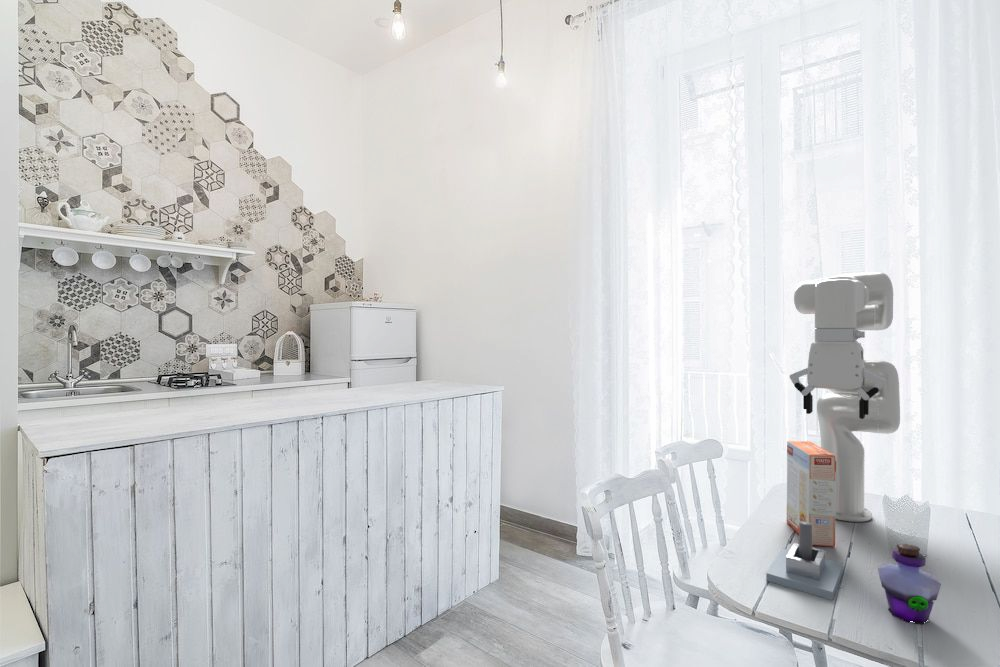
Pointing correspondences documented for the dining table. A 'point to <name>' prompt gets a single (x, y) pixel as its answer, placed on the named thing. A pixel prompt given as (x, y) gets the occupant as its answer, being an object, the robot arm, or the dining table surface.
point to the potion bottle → (909, 585)
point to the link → (805, 563)
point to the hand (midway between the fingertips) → (835, 415)
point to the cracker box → (811, 490)
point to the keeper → (815, 587)
